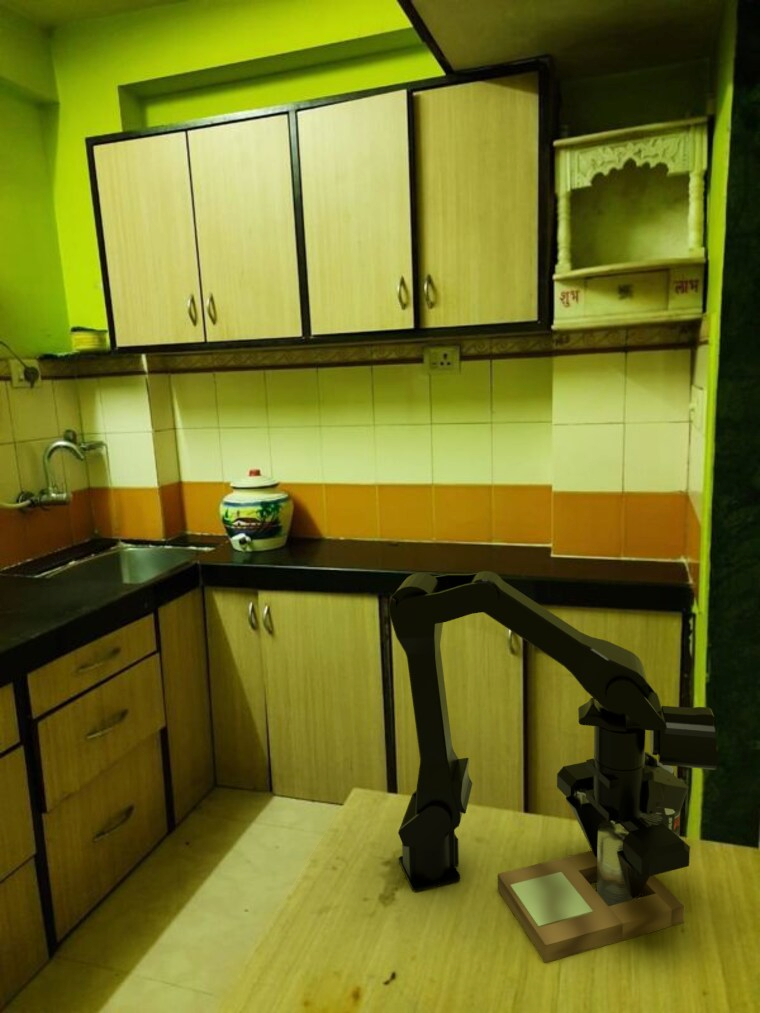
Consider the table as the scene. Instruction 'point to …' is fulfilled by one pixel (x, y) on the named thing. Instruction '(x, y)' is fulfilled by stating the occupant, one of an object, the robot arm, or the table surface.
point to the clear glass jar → (611, 864)
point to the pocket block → (581, 907)
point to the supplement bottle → (664, 813)
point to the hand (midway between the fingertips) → (616, 875)
